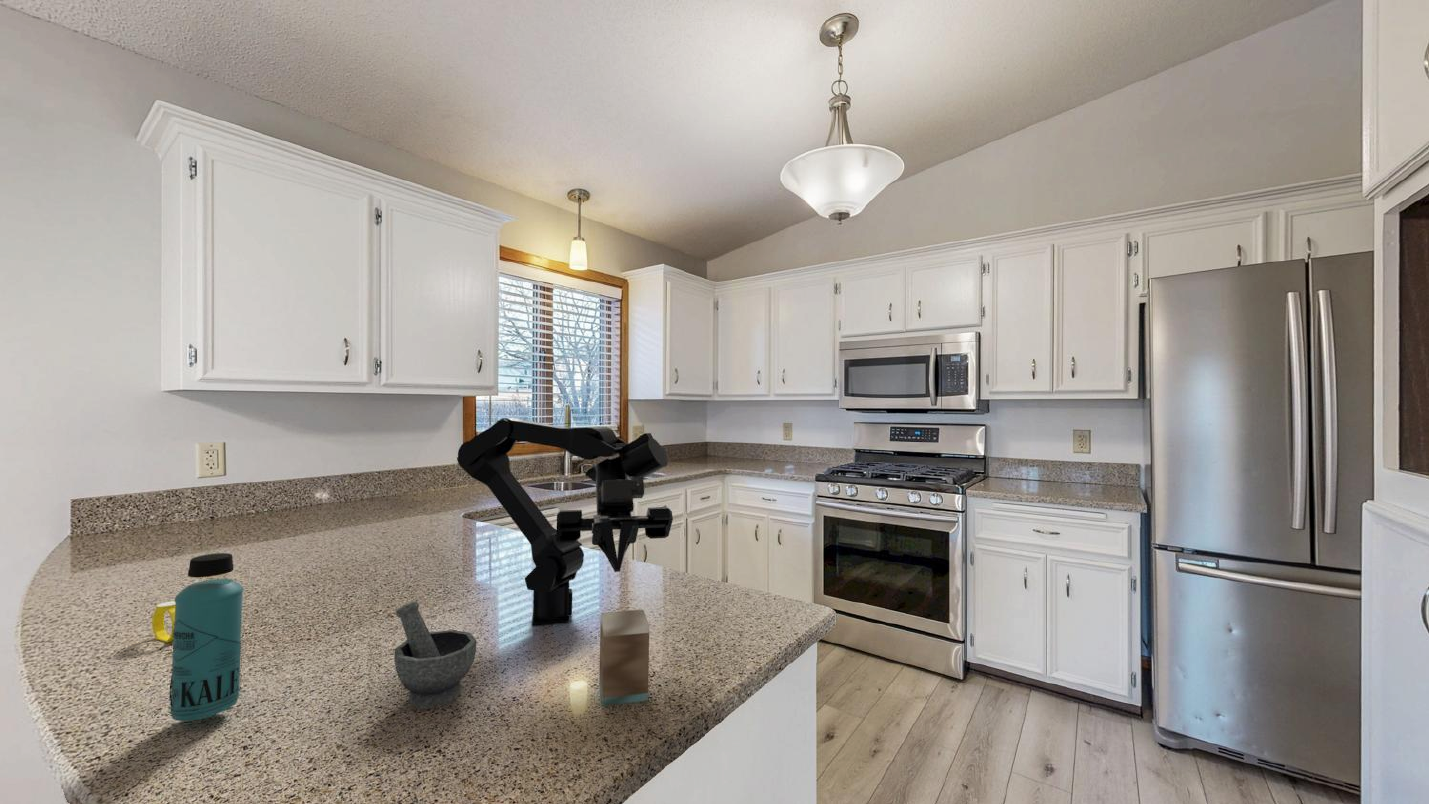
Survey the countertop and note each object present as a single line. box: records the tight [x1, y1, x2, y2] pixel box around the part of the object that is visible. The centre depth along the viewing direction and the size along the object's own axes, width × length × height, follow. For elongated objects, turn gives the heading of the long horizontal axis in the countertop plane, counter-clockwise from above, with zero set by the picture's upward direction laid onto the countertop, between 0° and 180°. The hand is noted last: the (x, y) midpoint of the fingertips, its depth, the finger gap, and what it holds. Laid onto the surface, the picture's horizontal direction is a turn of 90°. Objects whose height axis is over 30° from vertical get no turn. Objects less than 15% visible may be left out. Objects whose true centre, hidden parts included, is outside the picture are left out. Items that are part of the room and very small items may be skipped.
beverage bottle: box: [168, 552, 244, 722], centre depth 68 cm, size 6×7×20 cm
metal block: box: [598, 609, 650, 707], centre depth 76 cm, size 6×6×10 cm
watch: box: [151, 600, 175, 644], centre depth 90 cm, size 6×3×6 cm, turn 69°
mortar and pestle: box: [394, 601, 477, 710], centre depth 74 cm, size 11×9×12 cm
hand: (617, 570), depth 86 cm, fingers closed
